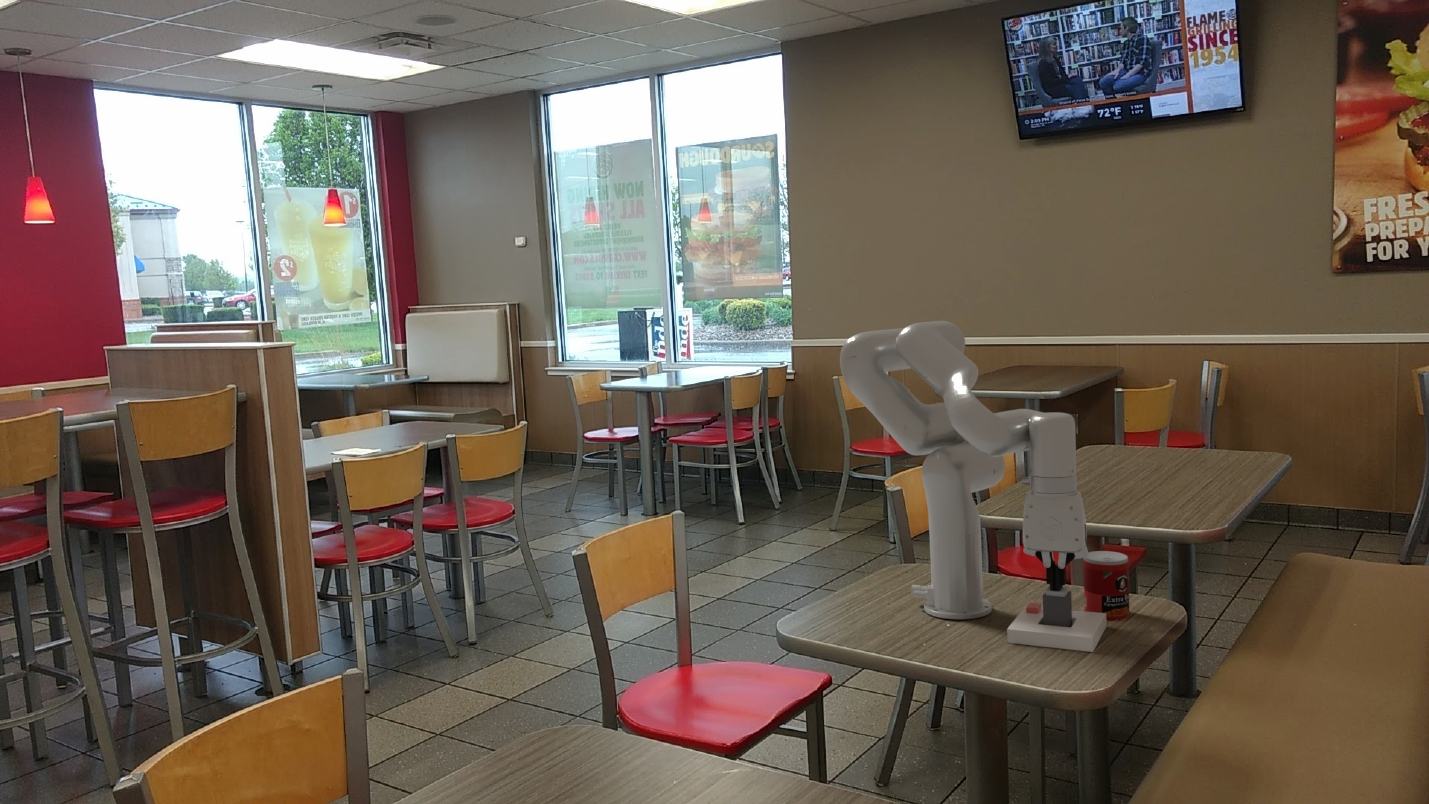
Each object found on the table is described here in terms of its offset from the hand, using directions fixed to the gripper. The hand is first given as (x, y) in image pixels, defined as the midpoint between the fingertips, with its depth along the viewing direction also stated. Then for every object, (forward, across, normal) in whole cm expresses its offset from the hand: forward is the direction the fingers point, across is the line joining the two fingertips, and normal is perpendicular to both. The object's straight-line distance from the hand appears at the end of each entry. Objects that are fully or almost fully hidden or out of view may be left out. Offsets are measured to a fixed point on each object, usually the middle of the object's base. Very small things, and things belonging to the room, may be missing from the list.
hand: (1056, 588), depth 180 cm
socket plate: (+8, 0, 0) cm, 8 cm away
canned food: (+8, +6, +14) cm, 17 cm away
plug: (+8, 0, 0) cm, 8 cm away
